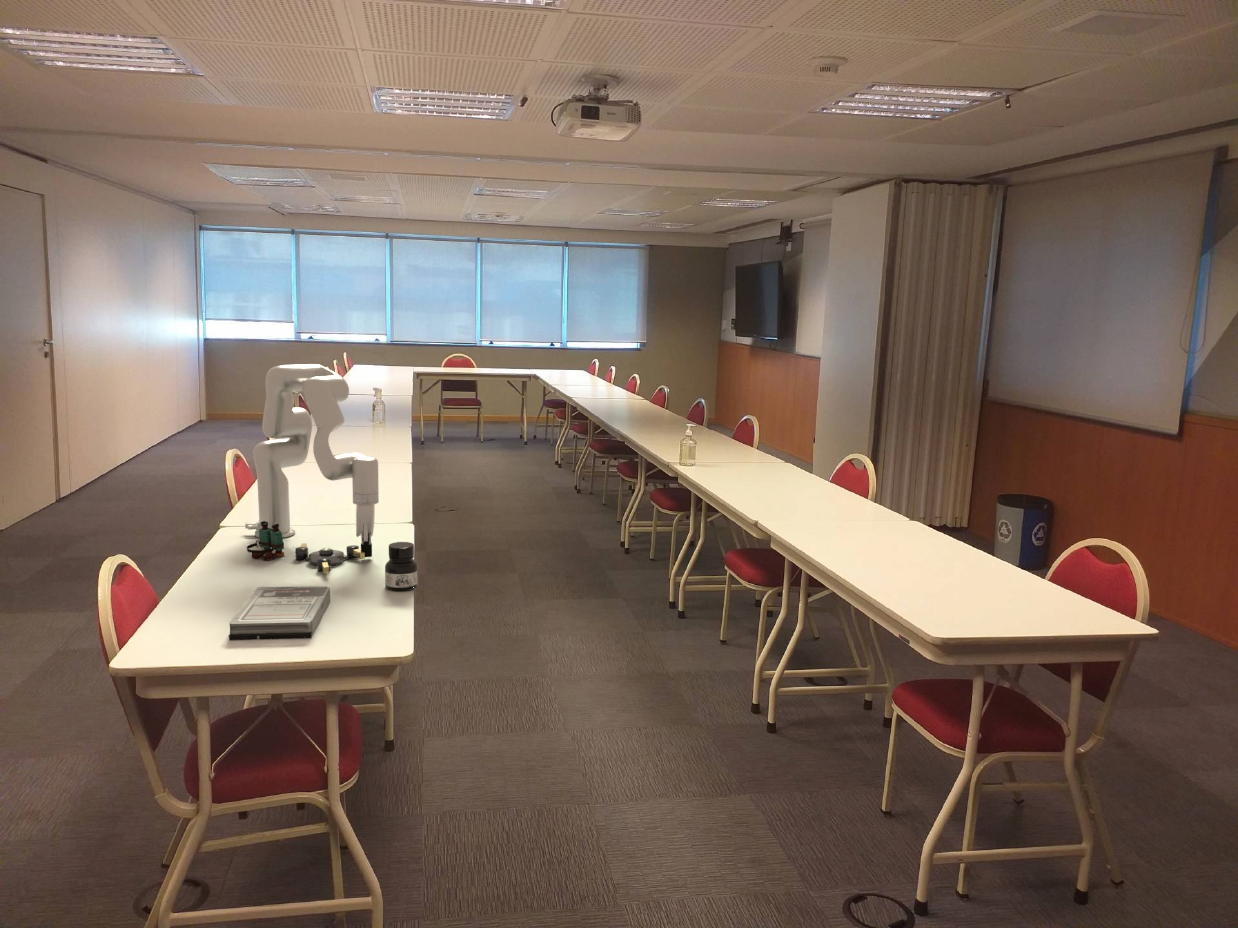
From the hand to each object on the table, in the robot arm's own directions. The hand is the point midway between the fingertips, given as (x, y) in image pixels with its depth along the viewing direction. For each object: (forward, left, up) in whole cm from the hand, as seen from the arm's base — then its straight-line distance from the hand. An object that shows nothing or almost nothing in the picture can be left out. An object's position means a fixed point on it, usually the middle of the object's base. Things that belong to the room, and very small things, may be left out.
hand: (366, 556), depth 273 cm
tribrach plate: (-12, -2, -1) cm, 12 cm away
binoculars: (-30, +5, -1) cm, 30 cm away
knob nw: (-19, +5, -1) cm, 20 cm away
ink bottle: (+10, -29, -1) cm, 30 cm away
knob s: (-11, -13, -1) cm, 17 cm away
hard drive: (-18, -50, -2) cm, 53 cm away
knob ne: (-3, 0, -1) cm, 3 cm away
